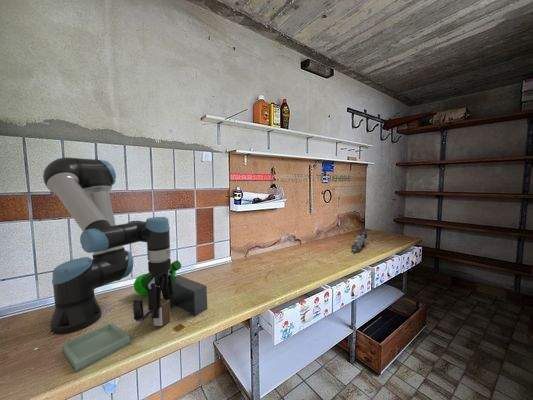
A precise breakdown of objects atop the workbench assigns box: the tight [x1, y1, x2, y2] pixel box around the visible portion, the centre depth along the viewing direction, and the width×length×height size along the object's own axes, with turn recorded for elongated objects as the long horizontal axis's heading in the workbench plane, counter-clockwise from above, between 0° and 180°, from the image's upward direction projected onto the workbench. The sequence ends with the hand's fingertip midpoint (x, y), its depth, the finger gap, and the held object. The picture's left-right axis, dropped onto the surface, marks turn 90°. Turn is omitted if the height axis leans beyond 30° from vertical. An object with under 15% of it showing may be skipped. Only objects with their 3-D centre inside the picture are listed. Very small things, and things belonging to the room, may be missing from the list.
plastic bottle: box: [133, 260, 182, 296], centre depth 107 cm, size 10×10×25 cm
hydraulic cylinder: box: [350, 231, 369, 253], centre depth 178 cm, size 7×37×10 cm, turn 146°
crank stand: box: [150, 275, 208, 332], centre depth 93 cm, size 23×16×10 cm
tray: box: [61, 321, 131, 373], centre depth 73 cm, size 14×14×2 cm
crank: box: [132, 297, 163, 322], centre depth 86 cm, size 15×5×7 cm, turn 174°
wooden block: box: [160, 298, 171, 327], centre depth 85 cm, size 4×4×8 cm
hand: (162, 320), depth 86 cm, fingers closed on wooden block, 5 cm apart
